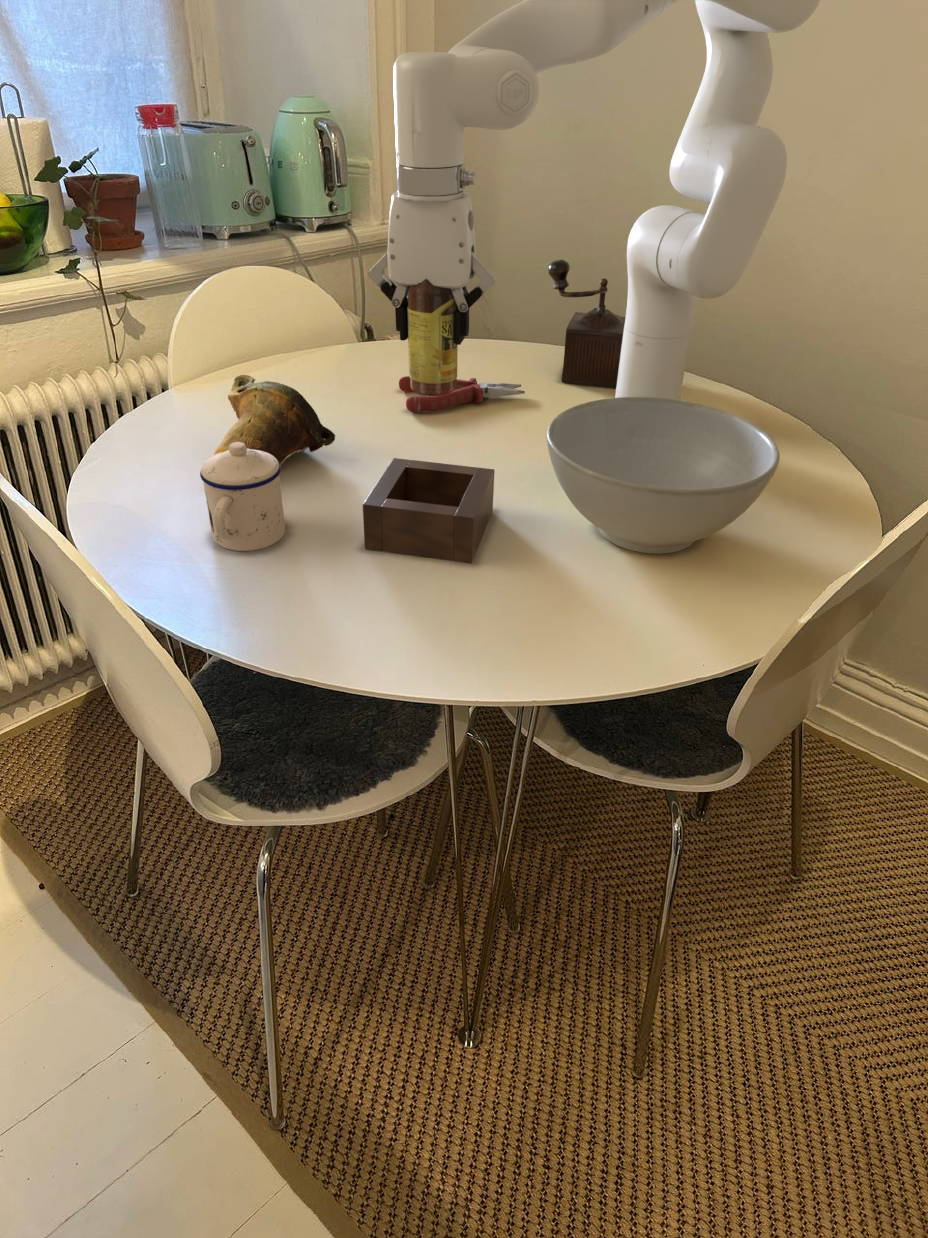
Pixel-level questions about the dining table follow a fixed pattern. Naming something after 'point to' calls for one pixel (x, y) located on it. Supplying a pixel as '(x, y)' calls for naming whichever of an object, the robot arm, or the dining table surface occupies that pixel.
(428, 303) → the sauce bottle
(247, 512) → the teacup with lid
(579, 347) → the manual coffee grinder
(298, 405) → the pot
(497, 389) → the pliers
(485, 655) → the dining table surface
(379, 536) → the holder
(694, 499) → the decorative bowl
